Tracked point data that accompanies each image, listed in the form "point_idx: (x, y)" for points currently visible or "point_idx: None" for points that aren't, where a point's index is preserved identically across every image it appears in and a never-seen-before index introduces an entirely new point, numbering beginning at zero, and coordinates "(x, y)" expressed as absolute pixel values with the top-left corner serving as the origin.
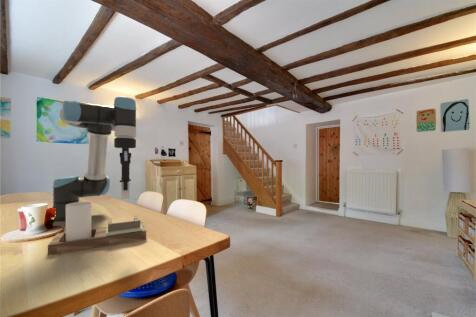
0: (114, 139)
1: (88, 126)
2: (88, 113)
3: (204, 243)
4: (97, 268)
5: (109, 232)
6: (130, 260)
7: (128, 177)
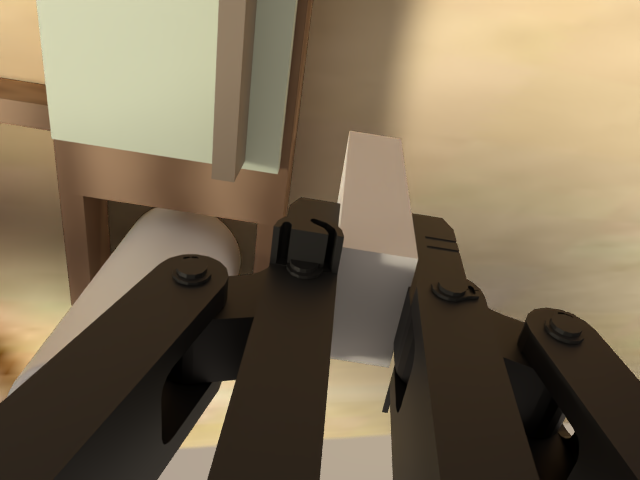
0: None
1: None
2: None
3: None
4: (573, 213)
5: (264, 153)
6: (616, 69)
7: (617, 376)
